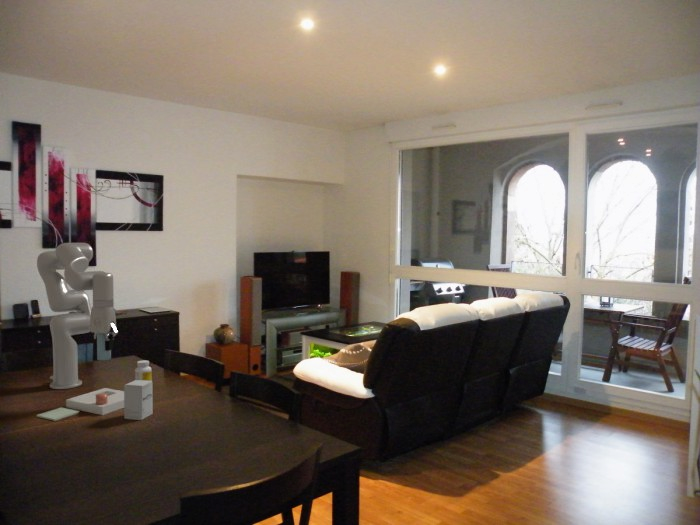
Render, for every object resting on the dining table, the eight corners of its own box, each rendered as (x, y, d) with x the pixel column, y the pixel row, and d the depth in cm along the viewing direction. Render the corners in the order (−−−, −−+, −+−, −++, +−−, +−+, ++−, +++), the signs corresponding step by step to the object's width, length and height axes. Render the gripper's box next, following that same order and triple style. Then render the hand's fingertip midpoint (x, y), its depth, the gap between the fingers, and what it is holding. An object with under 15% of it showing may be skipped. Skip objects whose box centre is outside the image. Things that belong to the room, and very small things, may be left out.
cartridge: (93, 359, 216) (92, 329, 215) (105, 356, 221) (104, 327, 220) (103, 361, 213) (102, 331, 213) (114, 358, 218) (114, 328, 218)
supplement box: (142, 420, 196) (141, 385, 195) (123, 419, 197) (123, 384, 197) (153, 413, 203) (153, 380, 202) (135, 412, 205) (135, 379, 204)
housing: (66, 407, 210) (66, 399, 210) (105, 395, 226) (105, 387, 226) (102, 415, 201) (102, 407, 201) (140, 401, 218) (140, 394, 217)
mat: (36, 416, 199) (36, 415, 199) (61, 408, 208) (61, 407, 208) (54, 420, 195) (54, 419, 195) (79, 412, 204) (79, 411, 204)
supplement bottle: (154, 389, 235) (154, 359, 234) (147, 393, 228) (147, 363, 228) (139, 388, 235) (139, 359, 235) (132, 393, 229) (131, 363, 228)
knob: (93, 410, 205) (93, 395, 205) (102, 407, 208) (102, 392, 208) (101, 411, 203) (100, 396, 203) (110, 408, 207) (109, 394, 206)
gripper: (80, 303, 216) (81, 349, 217) (110, 306, 209) (111, 353, 210) (96, 301, 223) (97, 345, 224) (126, 304, 215) (127, 349, 216)
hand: (104, 348), depth 217 cm, fingers closed on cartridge, 5 cm apart
